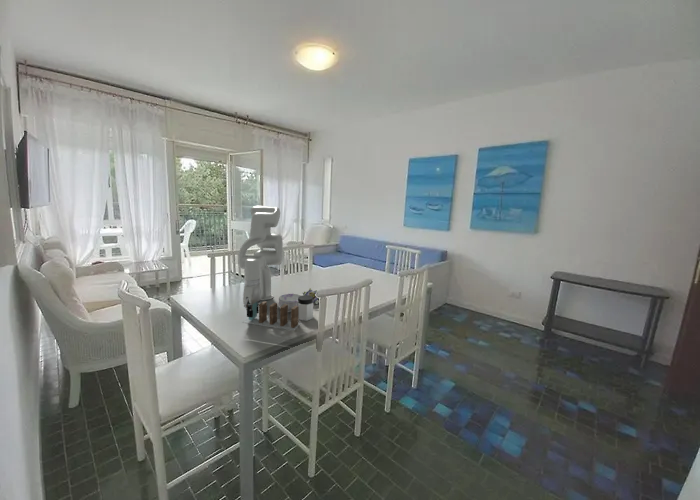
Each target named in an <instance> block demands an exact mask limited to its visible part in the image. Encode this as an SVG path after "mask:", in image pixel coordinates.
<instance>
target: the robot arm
mask: <svg viewBox="0 0 700 500" xmlns="http://www.w3.org/2000/svg"><path fill="white" fill-rule="evenodd" d="M250 215H251V221H250V230H249V237H248V239H246V240H245V241H244V242H243V243H242V245H241V246H240V249H239V251H238V252H239V253H238V261H237V262H238V268H239V269H241V270H244V287H243V295H242V296H243V297H242V299H243V300H242V301H243V302H242V304H243V307H244V309H245V310H246V317H247V318H249V317H253V310H252V306H253V304H254V303H256V302H257V315H259V304H260V301H270V300H272V299H273V298H274V294H273V293H272V270H271V269H270V267H269V266H279V265H281V264H282V263H283V253H284V252H283V246H284V245H283V244H284V243H283V242H284V241H283V236H282V235H281V234H280V233H271V231H272V230H271V228H276V227H278V225H279V221H280V218H281V210H280V208H279V207H277V206H265V205H254V206H252V207H251V208H250ZM255 245H257V247H258V248H260V249H259V250H257V251H255V252H254V255H249V254H247V251H248V250H249V249H250V248H251V247H253V246H255ZM271 249H272V250H271ZM273 249H274V250H273ZM246 254H247V255H246ZM249 303H250V304H249ZM249 305H250V307H249Z"/></svg>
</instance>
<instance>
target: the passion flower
mask: <svg viewBox="0 0 700 500" xmlns="http://www.w3.org/2000/svg"><path fill="white" fill-rule="evenodd" d="M317 292H318V290H313V289H312V288H309V289H308V290H307V291H303V292H302V295H309V296H312V297H313V305H314V304H316V305H318V304H319V298H317V297H316V296H315V294H316V293H317Z"/></svg>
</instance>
